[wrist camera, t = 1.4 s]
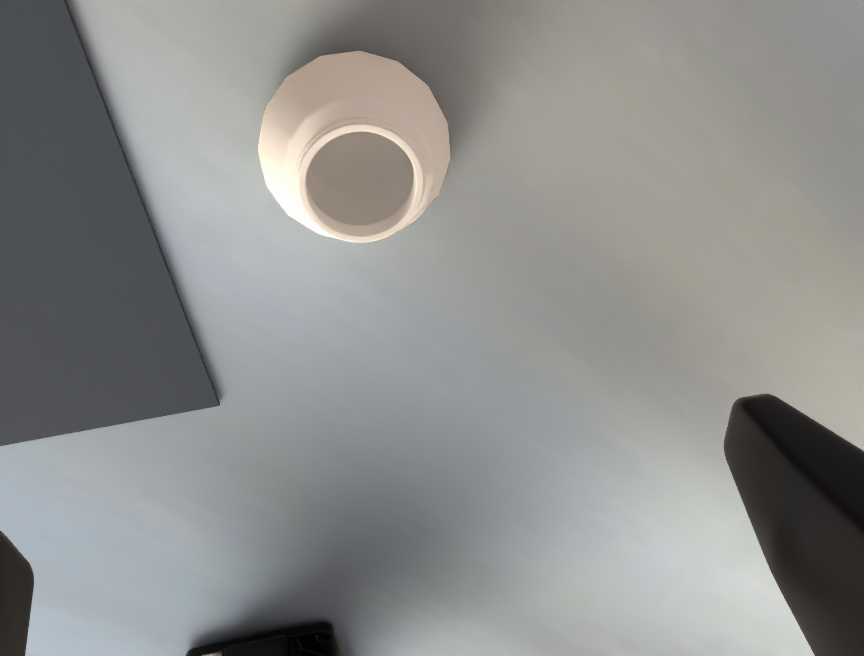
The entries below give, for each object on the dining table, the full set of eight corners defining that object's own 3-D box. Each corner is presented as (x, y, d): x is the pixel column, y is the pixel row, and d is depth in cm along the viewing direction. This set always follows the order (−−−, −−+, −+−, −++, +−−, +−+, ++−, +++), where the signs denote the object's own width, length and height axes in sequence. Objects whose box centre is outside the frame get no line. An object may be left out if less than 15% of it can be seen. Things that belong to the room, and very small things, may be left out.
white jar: (480, 126, 19) (332, 5, 17) (505, 165, 17) (336, 30, 15) (372, 257, 21) (225, 163, 19) (381, 309, 19) (213, 208, 17)
